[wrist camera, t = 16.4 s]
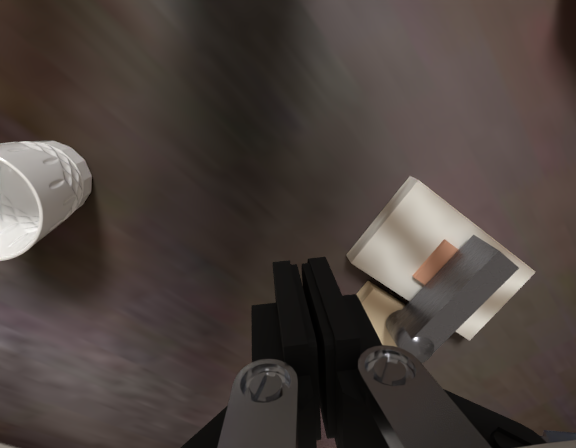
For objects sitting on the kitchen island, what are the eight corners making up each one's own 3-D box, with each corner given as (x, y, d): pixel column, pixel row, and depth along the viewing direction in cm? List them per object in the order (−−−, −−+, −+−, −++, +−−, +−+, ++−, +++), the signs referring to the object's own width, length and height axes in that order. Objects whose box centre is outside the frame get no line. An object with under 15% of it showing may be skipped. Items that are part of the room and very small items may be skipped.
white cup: (20, 219, 35) (-65, 264, 25) (-3, 134, 32) (-108, 150, 23) (106, 215, 35) (54, 258, 26) (90, 132, 33) (26, 146, 23)
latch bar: (400, 339, 41) (418, 368, 36) (379, 325, 40) (395, 354, 35) (488, 248, 38) (520, 268, 34) (469, 231, 37) (498, 249, 33)
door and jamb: (410, 175, 37) (420, 181, 35) (522, 264, 42) (539, 274, 39) (264, 356, 43) (265, 371, 40) (378, 416, 47) (385, 432, 45)
